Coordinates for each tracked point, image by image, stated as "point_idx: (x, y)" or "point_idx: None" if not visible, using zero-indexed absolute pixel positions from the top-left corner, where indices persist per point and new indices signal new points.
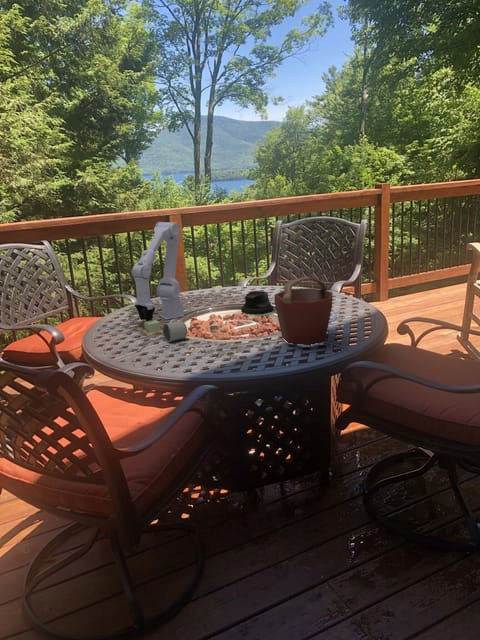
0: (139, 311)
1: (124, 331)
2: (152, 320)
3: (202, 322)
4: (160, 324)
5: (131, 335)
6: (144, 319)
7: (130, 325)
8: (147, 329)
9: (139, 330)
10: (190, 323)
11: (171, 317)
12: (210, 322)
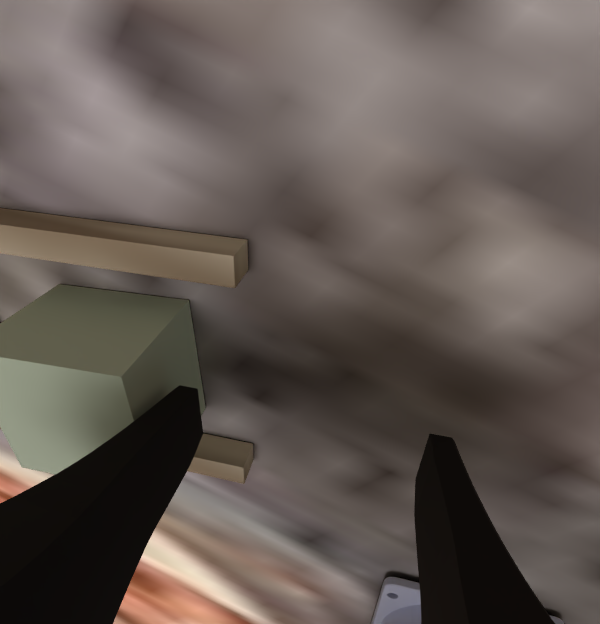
0: (451, 584)
1: (337, 26)
2: None
3: (156, 608)
4: (200, 472)
5: (55, 44)
6: (419, 469)
7: (580, 273)
8: (85, 307)
9: (174, 236)
10: (175, 579)
11: (387, 615)
12: (133, 618)
